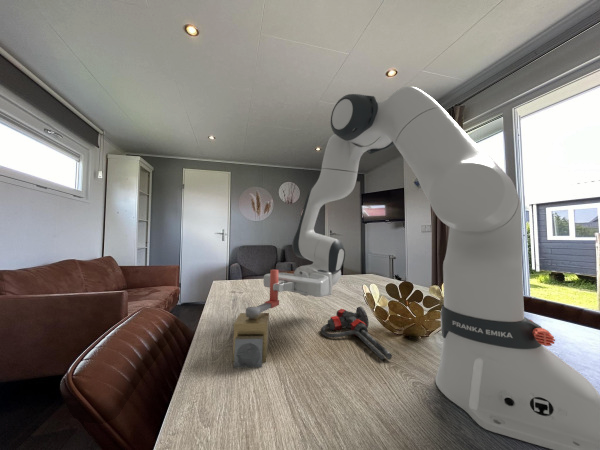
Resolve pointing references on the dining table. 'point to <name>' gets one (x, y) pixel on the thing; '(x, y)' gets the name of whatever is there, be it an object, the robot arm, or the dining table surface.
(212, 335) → the dining table surface
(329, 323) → the valve
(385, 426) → the dining table surface
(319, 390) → the dining table surface
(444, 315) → the robot arm
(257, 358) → the lever valve base
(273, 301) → the lever
